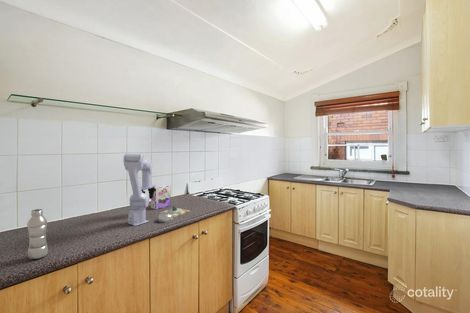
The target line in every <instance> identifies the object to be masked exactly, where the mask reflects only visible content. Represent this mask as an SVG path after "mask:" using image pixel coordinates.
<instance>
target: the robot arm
mask: <svg viewBox="0 0 470 313" xmlns="http://www.w3.org/2000/svg"><path fill="white" fill-rule="evenodd" d="M122 161H123V162H122V163H123V166H124V169H125V171H127V173H128V176H129V181H130V185H131V190H132V194H131V195H130V197H129V206H130V208H131V210H129V211H128V214H127V216H128V220H127V221H128V222H127V224H129V225H132V226H134V227H136V226H139V225H143V224H145V223H149V220H147V215H146V214H147V213H146V210H147V208H148V207H149V204H150V203H149V200H151V199H152V198H153V194H154V192H155V190H156V188H155V187H156V184H152V173H153V164H152V162H149V161H148V160H147V159H146V158H145V155H144V154H143V153H125V154H124V155H123V159H122ZM140 171H141V180H140V175H139V172H140ZM145 190H147V191H148V195H147V194H146V191H145ZM148 197H149V198H148Z"/></svg>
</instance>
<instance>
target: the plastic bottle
mask: <svg viewBox="0 0 470 313" xmlns="http://www.w3.org/2000/svg"><path fill="white" fill-rule="evenodd" d="M43 214H44V211H43V208H36V209H32V210H31V211H30V215H31V217H30V218H29V220H28V221H27V223H26V225H27V232H28V237H29V238H28V240H29V241H28V242H29V243H28V249H27V255H28V258H29V259H30V260H37V259H41V258H43V257H45V256H47V254H48V253H49V247H48V242H47V226H48V220H47V217H45V216H44V215H43Z"/></svg>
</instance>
